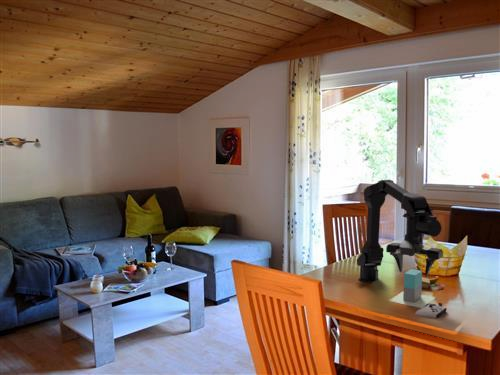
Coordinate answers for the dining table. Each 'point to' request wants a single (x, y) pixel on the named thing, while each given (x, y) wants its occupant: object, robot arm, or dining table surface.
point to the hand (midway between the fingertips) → (413, 274)
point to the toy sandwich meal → (431, 284)
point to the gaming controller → (432, 310)
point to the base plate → (419, 303)
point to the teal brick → (412, 278)
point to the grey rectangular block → (412, 294)
